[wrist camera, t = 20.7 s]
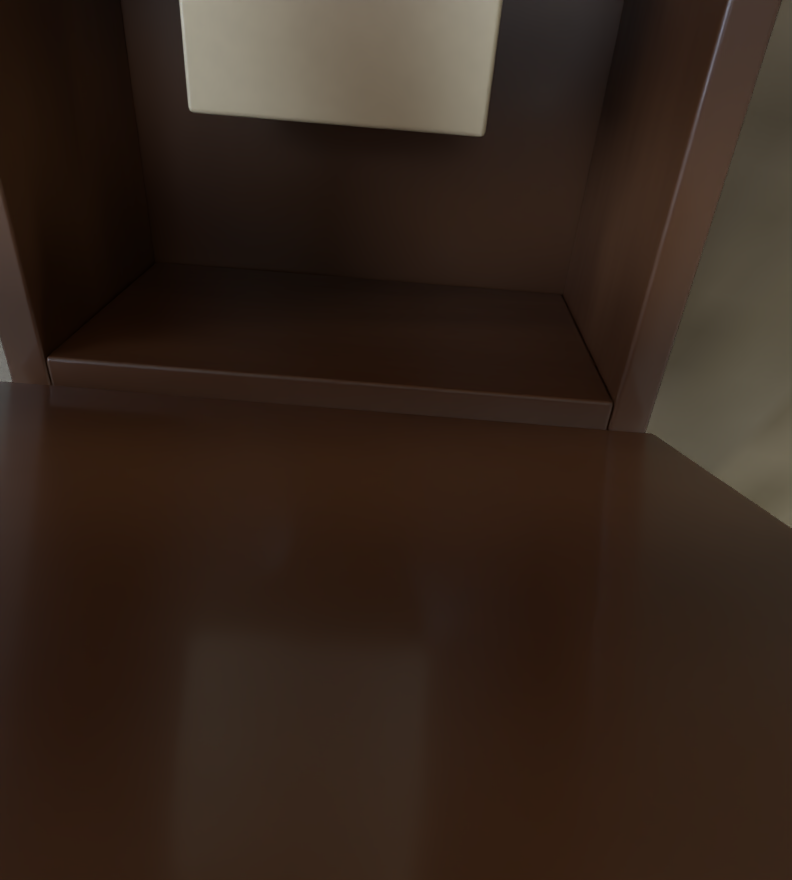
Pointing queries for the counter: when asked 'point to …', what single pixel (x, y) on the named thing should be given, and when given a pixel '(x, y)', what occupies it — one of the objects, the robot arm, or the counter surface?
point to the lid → (381, 649)
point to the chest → (369, 218)
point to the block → (344, 61)
